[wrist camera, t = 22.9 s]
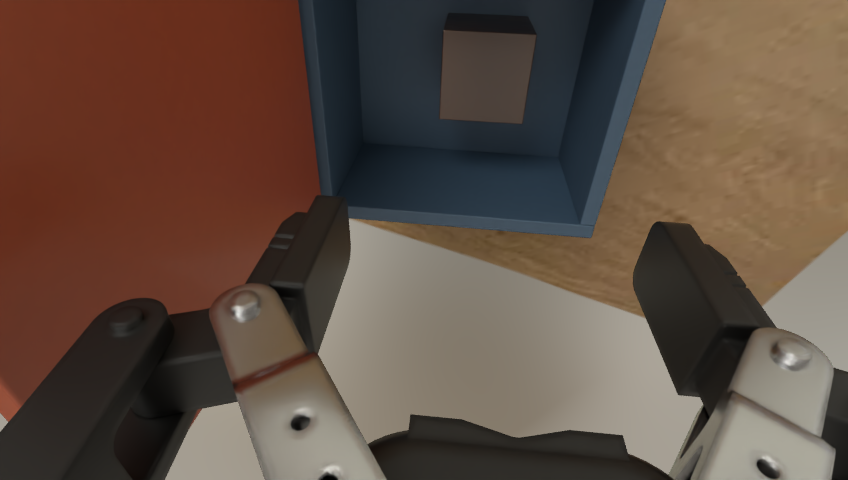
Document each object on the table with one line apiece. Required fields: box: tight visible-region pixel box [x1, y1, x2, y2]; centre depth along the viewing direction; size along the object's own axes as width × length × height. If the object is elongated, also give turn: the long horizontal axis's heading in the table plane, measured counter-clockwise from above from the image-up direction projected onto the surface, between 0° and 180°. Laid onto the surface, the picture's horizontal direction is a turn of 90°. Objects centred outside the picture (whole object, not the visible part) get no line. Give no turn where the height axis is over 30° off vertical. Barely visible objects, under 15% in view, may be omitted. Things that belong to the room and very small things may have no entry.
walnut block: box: [439, 13, 537, 124], centre depth 25 cm, size 4×4×4 cm
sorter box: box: [298, 0, 666, 238], centre depth 24 cm, size 15×14×9 cm
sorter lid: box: [0, 0, 321, 428], centre depth 14 cm, size 15×14×1 cm
